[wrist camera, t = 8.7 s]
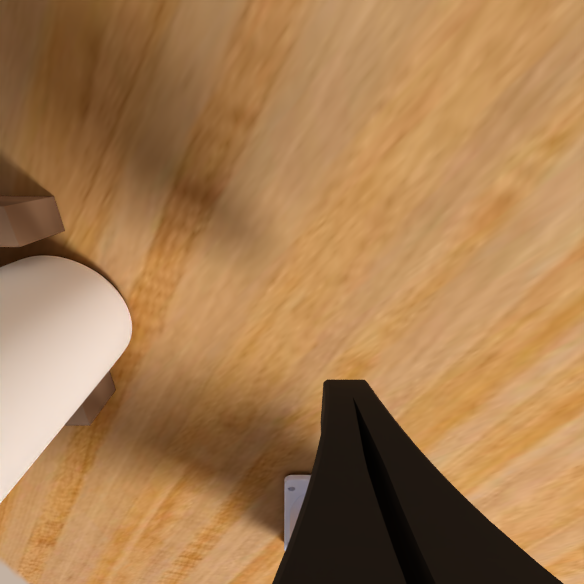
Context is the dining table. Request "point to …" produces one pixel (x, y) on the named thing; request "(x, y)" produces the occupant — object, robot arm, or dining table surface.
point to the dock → (32, 227)
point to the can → (51, 351)
